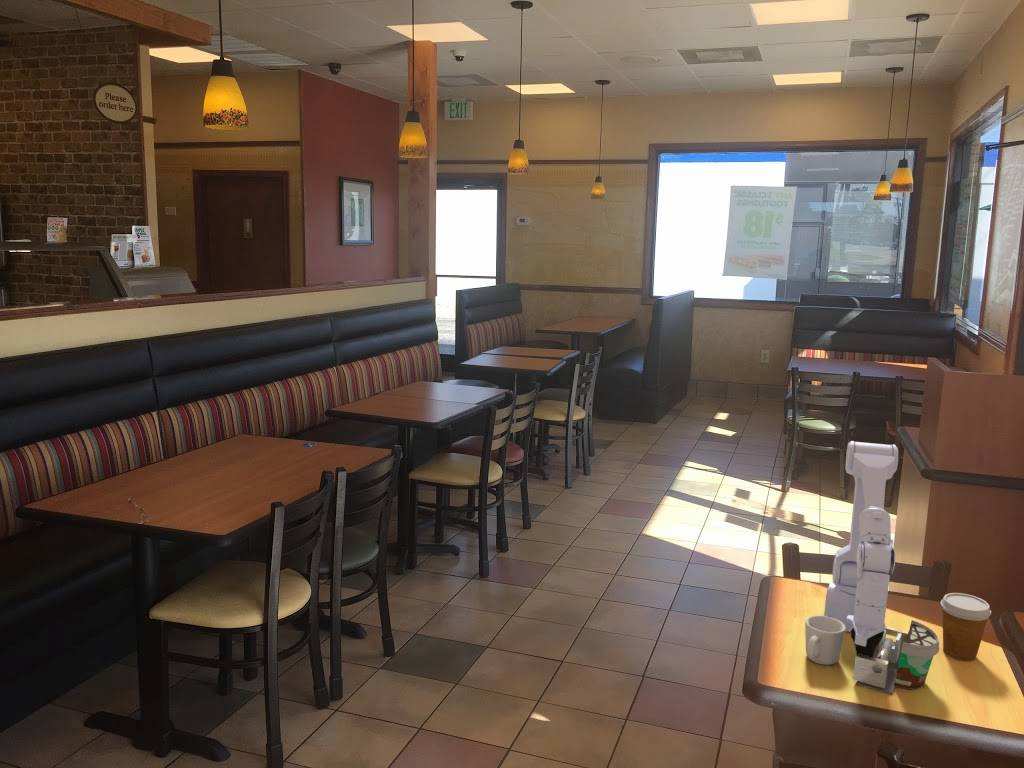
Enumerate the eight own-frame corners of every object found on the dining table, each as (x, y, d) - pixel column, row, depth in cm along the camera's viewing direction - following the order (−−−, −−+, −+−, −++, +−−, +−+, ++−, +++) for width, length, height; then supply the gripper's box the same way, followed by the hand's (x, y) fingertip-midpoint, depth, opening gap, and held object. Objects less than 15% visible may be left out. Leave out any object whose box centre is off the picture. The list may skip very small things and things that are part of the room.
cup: (827, 678, 171) (831, 641, 170) (789, 664, 177) (793, 628, 175) (848, 659, 179) (852, 623, 178) (811, 645, 184) (815, 611, 183)
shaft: (853, 679, 169) (855, 656, 168) (866, 652, 180) (869, 630, 179) (884, 688, 166) (887, 664, 165) (896, 660, 177) (898, 638, 176)
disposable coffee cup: (991, 667, 177) (998, 614, 175) (941, 662, 179) (948, 608, 176) (976, 645, 186) (983, 594, 184) (929, 640, 188) (935, 589, 186)
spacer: (875, 649, 182) (877, 626, 181) (876, 647, 184) (878, 623, 183) (905, 657, 179) (908, 634, 178) (906, 655, 180) (909, 631, 179)
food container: (926, 701, 164) (937, 654, 162) (892, 688, 167) (902, 643, 165) (934, 673, 174) (944, 629, 172) (902, 662, 177) (912, 618, 175)
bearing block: (877, 660, 179) (880, 635, 178) (880, 653, 182) (883, 628, 181) (895, 665, 177) (898, 640, 176) (898, 658, 180) (901, 633, 179)
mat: (856, 684, 169) (856, 682, 169) (876, 642, 187) (876, 640, 187) (891, 694, 166) (892, 692, 166) (909, 650, 183) (909, 649, 183)
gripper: (857, 583, 176) (850, 644, 179) (841, 609, 164) (834, 673, 167) (893, 592, 172) (886, 653, 175) (880, 619, 160) (872, 685, 163)
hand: (863, 664), depth 171 cm, fingers closed
